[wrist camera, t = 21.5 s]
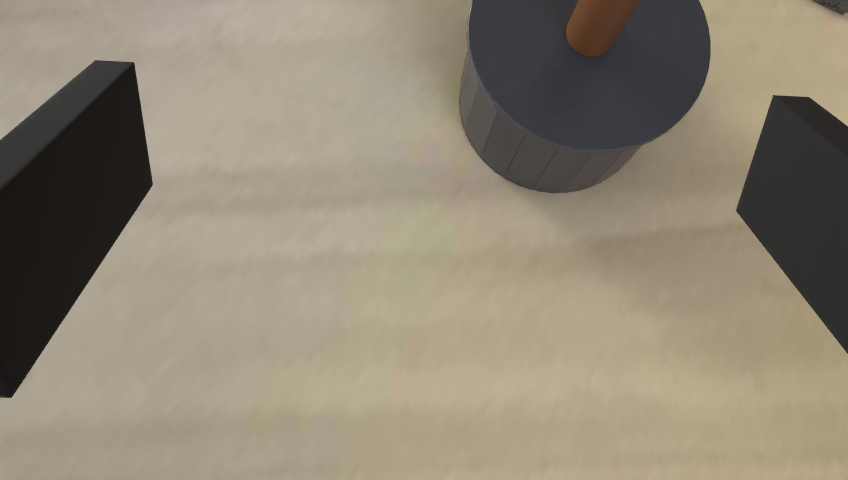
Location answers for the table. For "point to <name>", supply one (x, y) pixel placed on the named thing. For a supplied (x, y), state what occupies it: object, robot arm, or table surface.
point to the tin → (527, 148)
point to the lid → (590, 67)
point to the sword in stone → (835, 5)
